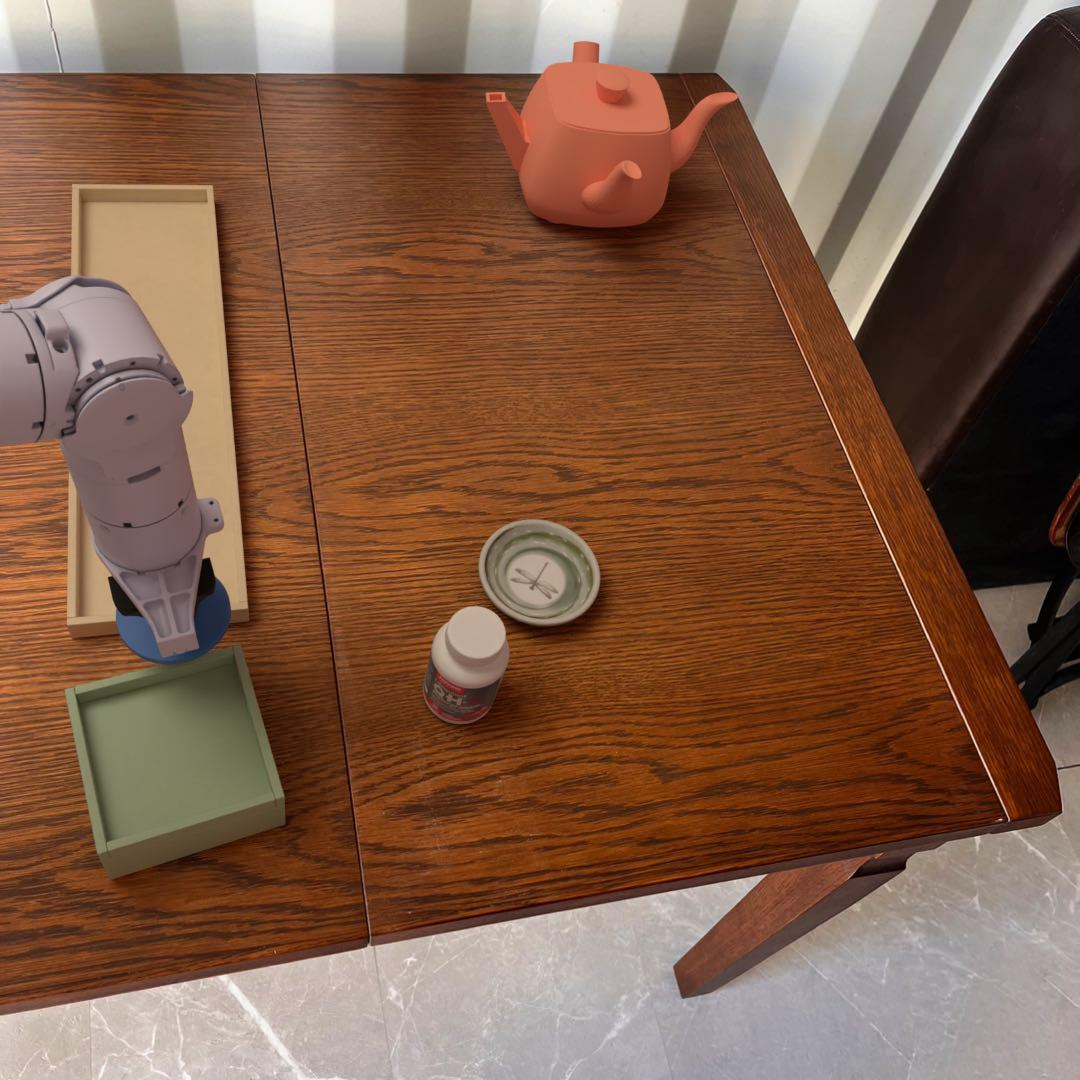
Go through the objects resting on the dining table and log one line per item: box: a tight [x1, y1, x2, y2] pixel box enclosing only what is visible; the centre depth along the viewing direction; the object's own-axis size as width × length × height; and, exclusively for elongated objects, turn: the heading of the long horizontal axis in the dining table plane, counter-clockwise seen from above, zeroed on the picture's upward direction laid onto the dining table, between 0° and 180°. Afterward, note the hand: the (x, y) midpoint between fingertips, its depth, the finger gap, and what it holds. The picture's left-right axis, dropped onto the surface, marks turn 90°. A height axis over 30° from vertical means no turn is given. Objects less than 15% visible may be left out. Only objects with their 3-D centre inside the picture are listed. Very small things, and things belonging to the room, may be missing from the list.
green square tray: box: [64, 644, 286, 881], centre depth 71 cm, size 11×11×6 cm
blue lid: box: [116, 577, 231, 665], centre depth 68 cm, size 7×7×5 cm
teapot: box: [485, 40, 739, 228], centre depth 108 cm, size 18×18×14 cm
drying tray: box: [66, 183, 250, 639], centre depth 89 cm, size 45×12×2 cm, turn 12°
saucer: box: [477, 518, 601, 627], centre depth 85 cm, size 10×10×2 cm
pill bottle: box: [422, 605, 510, 725], centre depth 76 cm, size 5×5×10 cm
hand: (171, 603), depth 68 cm, fingers closed on blue lid, 2 cm apart
